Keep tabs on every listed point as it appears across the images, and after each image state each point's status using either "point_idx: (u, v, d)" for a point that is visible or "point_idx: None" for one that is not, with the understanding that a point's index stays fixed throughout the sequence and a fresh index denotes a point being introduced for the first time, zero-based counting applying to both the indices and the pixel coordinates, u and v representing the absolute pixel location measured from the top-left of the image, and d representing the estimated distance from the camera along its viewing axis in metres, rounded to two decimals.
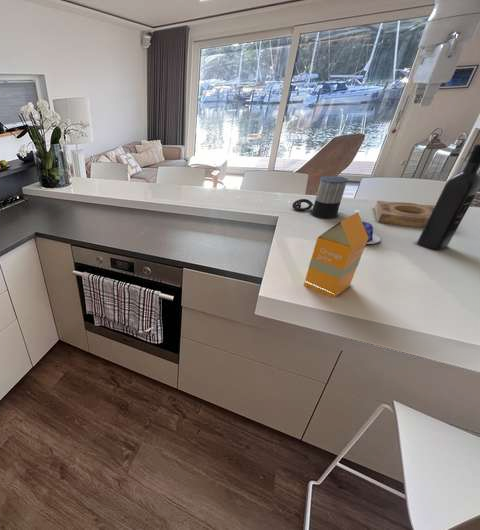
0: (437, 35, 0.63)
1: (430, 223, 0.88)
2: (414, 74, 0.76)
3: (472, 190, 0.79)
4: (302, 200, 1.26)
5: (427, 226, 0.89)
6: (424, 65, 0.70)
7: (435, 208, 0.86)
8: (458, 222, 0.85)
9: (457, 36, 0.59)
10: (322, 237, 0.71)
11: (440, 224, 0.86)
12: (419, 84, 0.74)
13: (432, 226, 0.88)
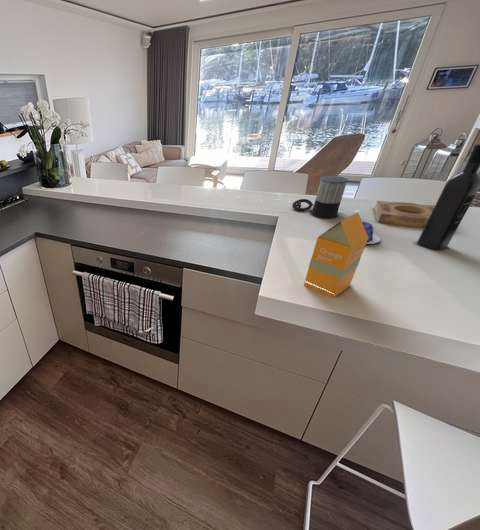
0: None
1: (430, 223, 0.88)
2: None
3: (472, 190, 0.79)
4: (302, 200, 1.26)
5: (427, 226, 0.89)
6: None
7: (435, 208, 0.86)
8: (458, 222, 0.85)
9: None
10: (322, 237, 0.71)
11: (440, 224, 0.86)
12: None
13: (432, 226, 0.88)
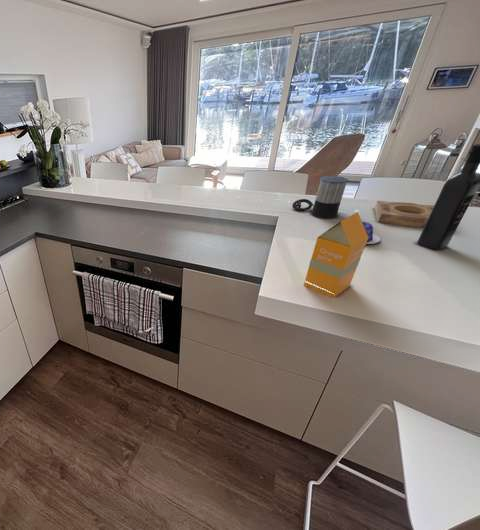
0: None
1: (429, 224, 0.88)
2: None
3: (471, 190, 0.79)
4: (302, 200, 1.26)
5: (427, 226, 0.89)
6: None
7: (434, 208, 0.86)
8: (458, 222, 0.84)
9: None
10: (322, 237, 0.71)
11: (439, 225, 0.86)
12: None
13: (432, 227, 0.88)
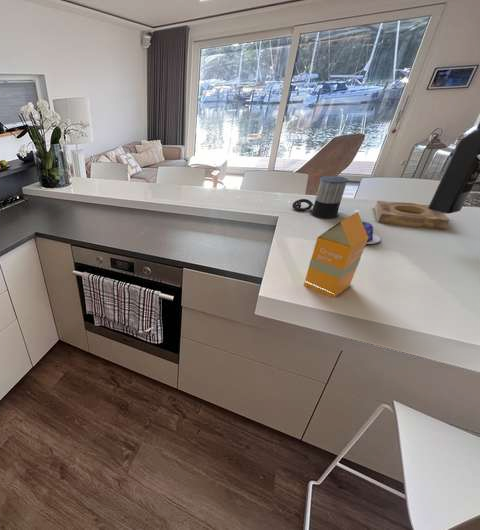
0: None
1: (442, 186, 0.85)
2: None
3: None
4: (302, 200, 1.26)
5: (439, 189, 0.86)
6: None
7: (447, 169, 0.83)
8: (472, 183, 0.81)
9: None
10: (322, 237, 0.71)
11: (452, 186, 0.83)
12: None
13: (444, 189, 0.84)
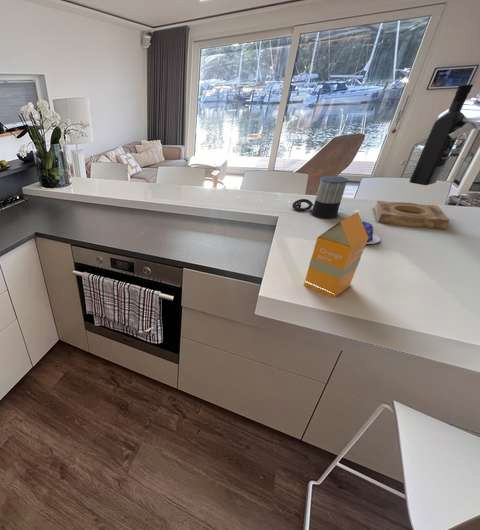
0: None
1: (420, 161, 0.99)
2: None
3: (457, 126, 0.91)
4: (302, 200, 1.26)
5: (418, 164, 1.00)
6: None
7: (425, 147, 0.98)
8: (445, 158, 0.96)
9: None
10: (322, 237, 0.71)
11: (429, 161, 0.97)
12: None
13: (422, 164, 0.99)
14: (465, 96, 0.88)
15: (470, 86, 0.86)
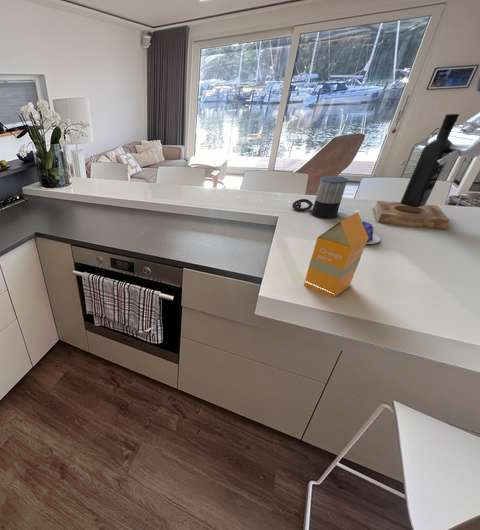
0: None
1: (410, 184, 1.03)
2: (478, 154, 0.88)
3: (444, 153, 0.95)
4: (302, 200, 1.26)
5: (408, 187, 1.04)
6: None
7: (414, 171, 1.02)
8: (433, 182, 1.00)
9: None
10: (322, 237, 0.71)
11: (418, 184, 1.01)
12: None
13: (412, 187, 1.03)
14: (452, 125, 0.92)
15: (456, 116, 0.91)
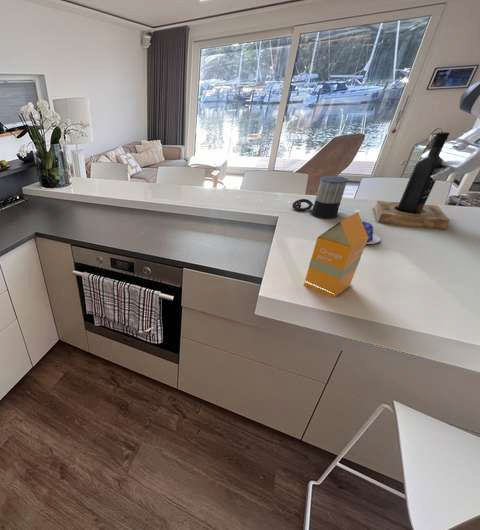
0: None
1: (404, 199, 1.06)
2: None
3: (436, 170, 0.98)
4: (302, 200, 1.26)
5: (401, 201, 1.07)
6: None
7: (407, 186, 1.05)
8: (426, 197, 1.03)
9: None
10: (322, 237, 0.71)
11: (411, 199, 1.04)
12: None
13: (405, 201, 1.06)
14: (443, 143, 0.95)
15: (447, 134, 0.94)
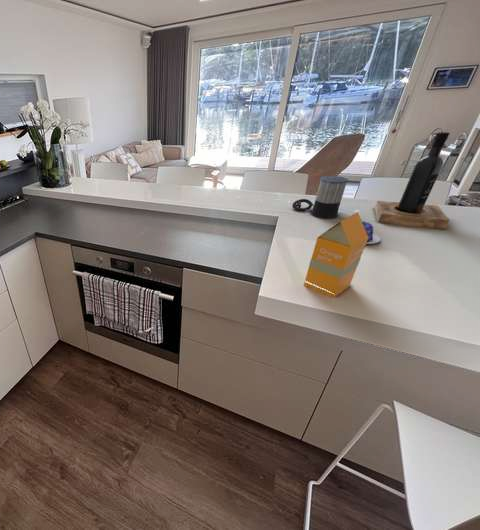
0: None
1: (404, 199, 1.06)
2: None
3: (436, 170, 0.98)
4: (302, 200, 1.26)
5: (401, 201, 1.07)
6: None
7: (407, 186, 1.05)
8: (426, 197, 1.03)
9: None
10: (322, 237, 0.71)
11: (411, 199, 1.04)
12: None
13: (405, 201, 1.06)
14: (443, 143, 0.95)
15: (447, 134, 0.94)
